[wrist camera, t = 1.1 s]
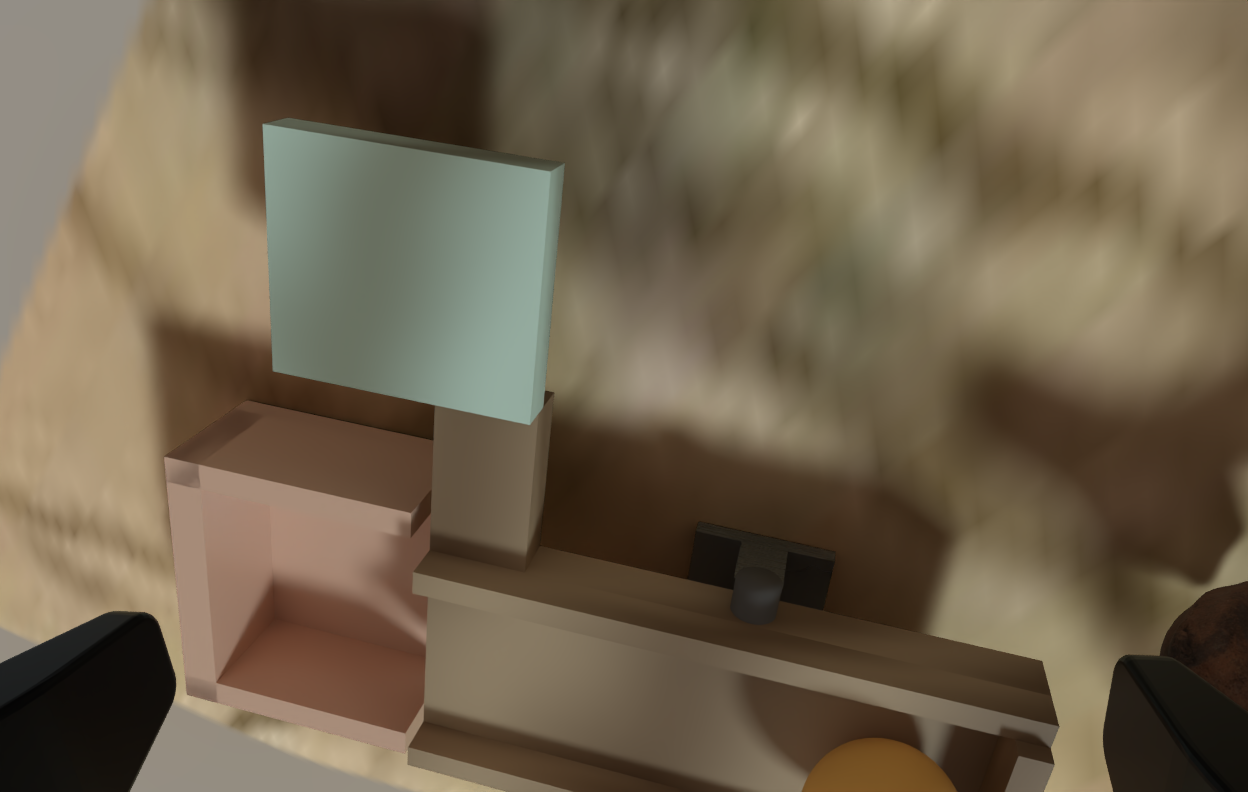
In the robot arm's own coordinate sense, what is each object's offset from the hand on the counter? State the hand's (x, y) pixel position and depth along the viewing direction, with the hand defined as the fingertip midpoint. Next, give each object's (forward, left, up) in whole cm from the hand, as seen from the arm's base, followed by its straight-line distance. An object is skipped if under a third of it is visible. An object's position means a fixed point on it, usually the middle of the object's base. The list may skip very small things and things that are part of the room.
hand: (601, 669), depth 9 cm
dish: (+11, +3, -11) cm, 16 cm away
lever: (+2, +3, -9) cm, 10 cm away
